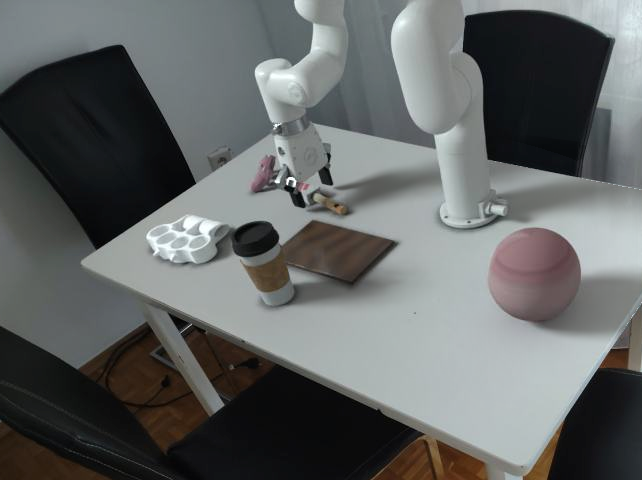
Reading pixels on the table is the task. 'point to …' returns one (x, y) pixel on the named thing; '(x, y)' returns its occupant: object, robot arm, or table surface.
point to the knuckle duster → (187, 239)
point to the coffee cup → (263, 261)
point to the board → (334, 251)
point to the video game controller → (264, 173)
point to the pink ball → (534, 274)
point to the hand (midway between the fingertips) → (314, 195)
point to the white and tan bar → (319, 198)
